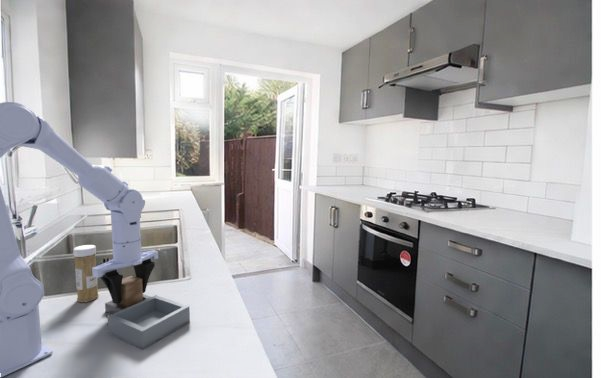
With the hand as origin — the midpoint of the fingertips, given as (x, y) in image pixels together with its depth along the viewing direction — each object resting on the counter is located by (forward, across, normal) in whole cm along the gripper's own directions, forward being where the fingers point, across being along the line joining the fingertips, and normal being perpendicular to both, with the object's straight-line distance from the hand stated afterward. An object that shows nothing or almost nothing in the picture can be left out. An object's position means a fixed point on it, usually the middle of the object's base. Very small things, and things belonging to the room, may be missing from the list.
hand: (129, 296), depth 72 cm
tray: (+3, -3, -12) cm, 12 cm away
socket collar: (+3, 0, 0) cm, 3 cm away
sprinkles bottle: (+3, -2, +14) cm, 14 cm away
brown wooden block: (+3, 0, 0) cm, 3 cm away
